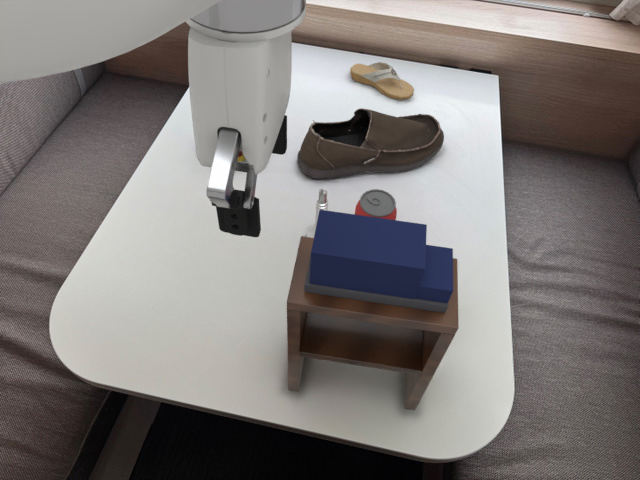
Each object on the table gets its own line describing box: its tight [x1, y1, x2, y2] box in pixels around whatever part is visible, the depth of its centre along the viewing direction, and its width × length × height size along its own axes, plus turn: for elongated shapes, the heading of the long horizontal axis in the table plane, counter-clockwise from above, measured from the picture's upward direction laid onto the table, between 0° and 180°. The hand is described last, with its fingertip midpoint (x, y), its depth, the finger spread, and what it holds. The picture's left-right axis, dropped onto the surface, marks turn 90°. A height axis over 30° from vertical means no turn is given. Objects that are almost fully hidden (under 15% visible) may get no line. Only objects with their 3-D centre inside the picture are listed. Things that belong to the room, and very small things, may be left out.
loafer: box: [296, 108, 445, 180], centre depth 99 cm, size 11×30×11 cm, turn 110°
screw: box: [305, 188, 329, 238], centre depth 85 cm, size 13×5×5 cm
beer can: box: [354, 188, 398, 220], centre depth 85 cm, size 7×7×12 cm
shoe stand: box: [286, 236, 459, 411], centre depth 66 cm, size 18×9×24 cm, turn 82°
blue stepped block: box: [304, 210, 454, 313], centre depth 54 cm, size 15×6×7 cm, turn 82°
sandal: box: [349, 61, 415, 101], centre depth 116 cm, size 7×16×5 cm, turn 64°
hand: (255, 188), depth 44 cm, fingers open, 9 cm apart
